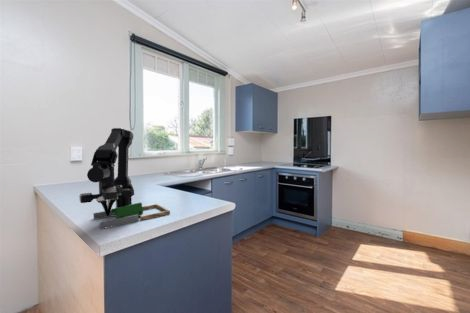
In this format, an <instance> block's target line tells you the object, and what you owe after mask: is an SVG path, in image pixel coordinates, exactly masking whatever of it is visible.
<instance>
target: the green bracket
mask: <svg viewBox="0 0 470 313" xmlns="http://www.w3.org/2000/svg"><path fill="white" fill-rule="evenodd" d="M142 207H143V205H142V202H136V203H135V202H134V203H132V204H131V205H127V206H124V207H119V208H117V207H115V208H111V211H112V213H113V212H115V214H116V215H115V219H118V218H123V217H128V216H133V215H138V217H140V216H143V214H144V210H143V208H142Z"/></svg>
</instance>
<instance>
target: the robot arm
mask: <svg viewBox="0 0 470 313" xmlns="http://www.w3.org/2000/svg"><path fill="white" fill-rule="evenodd" d="M133 140H134V133H133V132H132V131H131V130H126V129H125V128H123V127H113V128H111V130H110V134H109V136H108V137H107V139H106V141H105V142H104V143H103V144H102V145H99V146H98V148H97V149H95V152H94V153H93V156H92V160H91V163H90V166H91V168H89V170H88V171H87V174H86V176H87V179H88V181H90V182H92V183H98V193H95V194H93V193H92V192H87V193H86V192H84V193H80V195H79V197H78V198H79V202H80V203H81V204H85V203H92V202H93V200H96V202H97V203H99V204H101V206H102V209H103V210H104V211H105V213H106V215H107V216H109V214H110V211H111V209H113V205H114V203H115V208H119V207H124V206H127V205H131V204H133V203H132V200H133V199H132V197H133V196H135V189H134V187H133V184H132V180H131V179H130V177H129V148H130V147H131V145H132V144H133ZM117 149H118V152H117ZM116 163H117V176H116V177H115V167H116V165H115V164H116ZM109 217H110V216H109Z"/></svg>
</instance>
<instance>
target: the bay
mask: <svg viewBox="0 0 470 313" xmlns="http://www.w3.org/2000/svg"><path fill="white" fill-rule="evenodd" d="M142 208H143V211H146V210H149V209H155V208H156V209H158V210H160V212H155V213H150V214H145V215H140V216H139V220H140V221H143V220H149V219H154V218H158V217H162V216H166V215H171V210H169V209H168V208H166V207H163V206H162V205H160V204H158V203H155V204H150V205H144V206H142Z"/></svg>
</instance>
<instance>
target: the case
mask: <svg viewBox="0 0 470 313" xmlns="http://www.w3.org/2000/svg"><path fill="white" fill-rule="evenodd" d="M92 215H93V220H98V219H102V218H108V217H113V216H116V214H115V212H113V213H112V211H110V214H109V216H107V215H106V213H105V210H104V211H99V212H98V211H97V212H93V214H92ZM139 220H140V218H139V216H138V215H133V216H128V217H123V218H118V219H116V218H114V219H113V218H112V219H109V220H104V221H99V228H103V229H106V228H105V227H108V228H112V227H118V226H120V225H125V224H129V223H134V222H139ZM111 226H112V227H111Z"/></svg>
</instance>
